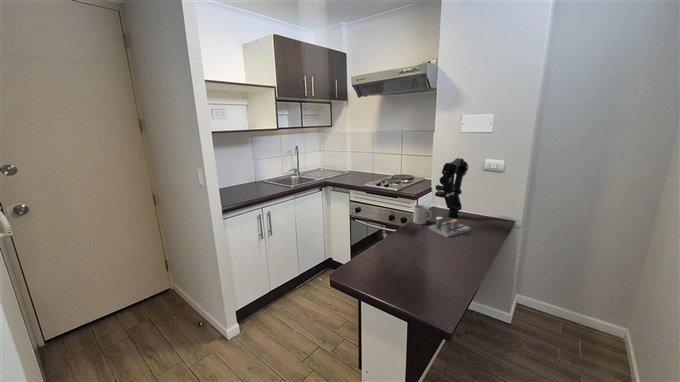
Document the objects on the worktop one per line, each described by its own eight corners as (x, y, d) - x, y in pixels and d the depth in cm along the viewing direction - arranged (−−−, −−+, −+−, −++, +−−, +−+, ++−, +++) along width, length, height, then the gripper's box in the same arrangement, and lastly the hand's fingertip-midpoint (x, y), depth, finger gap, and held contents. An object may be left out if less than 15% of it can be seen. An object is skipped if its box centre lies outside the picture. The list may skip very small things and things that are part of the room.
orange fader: (454, 227, 173) (454, 219, 172) (457, 228, 171) (457, 220, 170) (450, 228, 172) (450, 220, 170) (453, 229, 170) (454, 221, 168)
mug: (411, 223, 189) (412, 207, 186) (414, 219, 196) (415, 204, 193) (429, 225, 183) (430, 210, 181) (432, 221, 190) (433, 206, 188)
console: (450, 223, 187) (451, 218, 186) (470, 230, 174) (470, 225, 173) (428, 229, 178) (429, 224, 177) (447, 237, 165) (447, 232, 164)
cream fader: (439, 224, 178) (439, 216, 177) (442, 225, 176) (442, 217, 175) (435, 225, 177) (435, 217, 175) (438, 226, 175) (438, 218, 173)
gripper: (449, 178, 192) (447, 200, 196) (429, 181, 184) (428, 204, 187) (463, 181, 182) (461, 204, 186) (442, 185, 174) (441, 208, 178)
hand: (447, 205), depth 185 cm, fingers closed
